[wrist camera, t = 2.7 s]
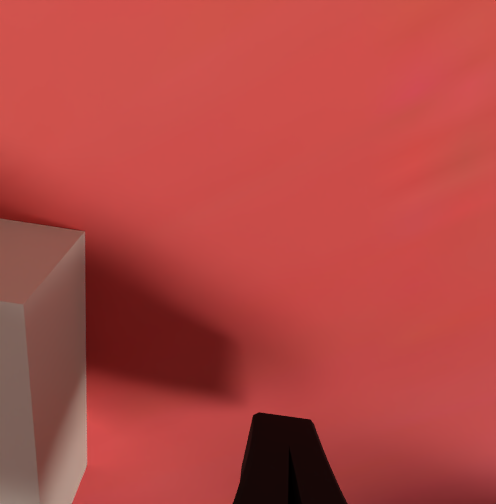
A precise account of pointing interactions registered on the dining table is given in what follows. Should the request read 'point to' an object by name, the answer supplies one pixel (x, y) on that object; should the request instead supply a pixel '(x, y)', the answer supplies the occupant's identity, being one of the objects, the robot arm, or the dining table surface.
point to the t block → (42, 363)
